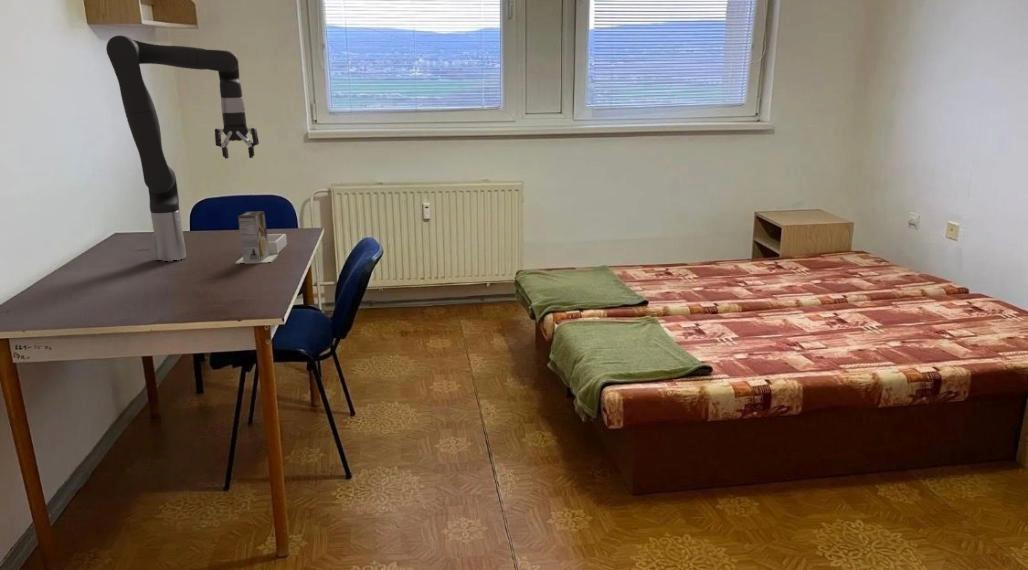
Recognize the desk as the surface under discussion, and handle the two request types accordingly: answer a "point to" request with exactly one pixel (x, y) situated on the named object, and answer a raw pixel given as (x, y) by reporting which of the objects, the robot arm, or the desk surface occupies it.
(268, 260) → the mat
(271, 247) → the bin
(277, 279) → the desk surface
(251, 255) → the coffee box
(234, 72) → the robot arm
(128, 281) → the desk surface
